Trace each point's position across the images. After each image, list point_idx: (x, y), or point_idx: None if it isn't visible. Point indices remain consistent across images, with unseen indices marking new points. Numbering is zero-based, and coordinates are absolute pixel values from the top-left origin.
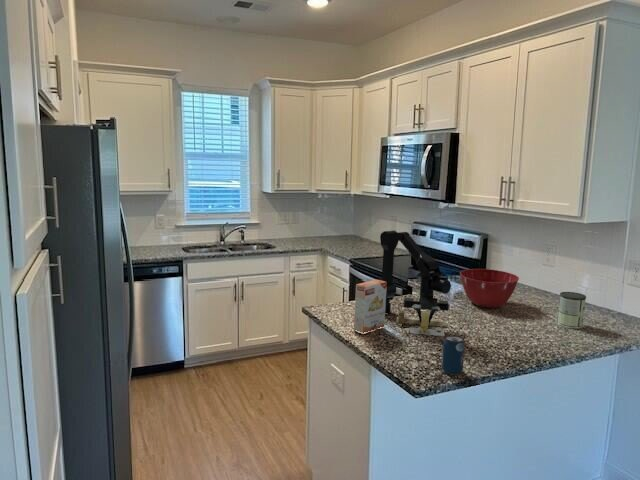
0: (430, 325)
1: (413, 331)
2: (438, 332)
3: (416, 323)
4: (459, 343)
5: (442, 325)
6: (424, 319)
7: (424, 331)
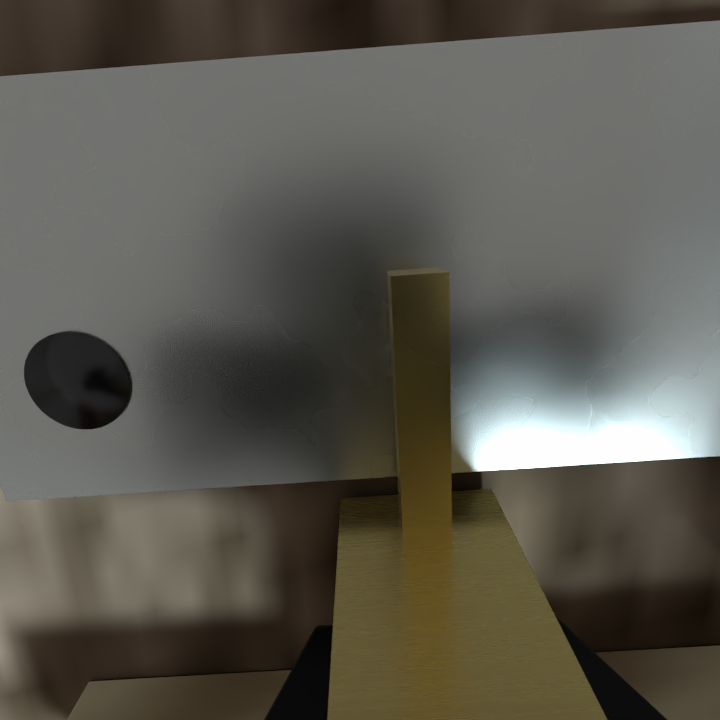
0: None
1: (716, 179)
2: (78, 308)
3: None
4: None
5: (75, 713)
6: (488, 708)
7: None
